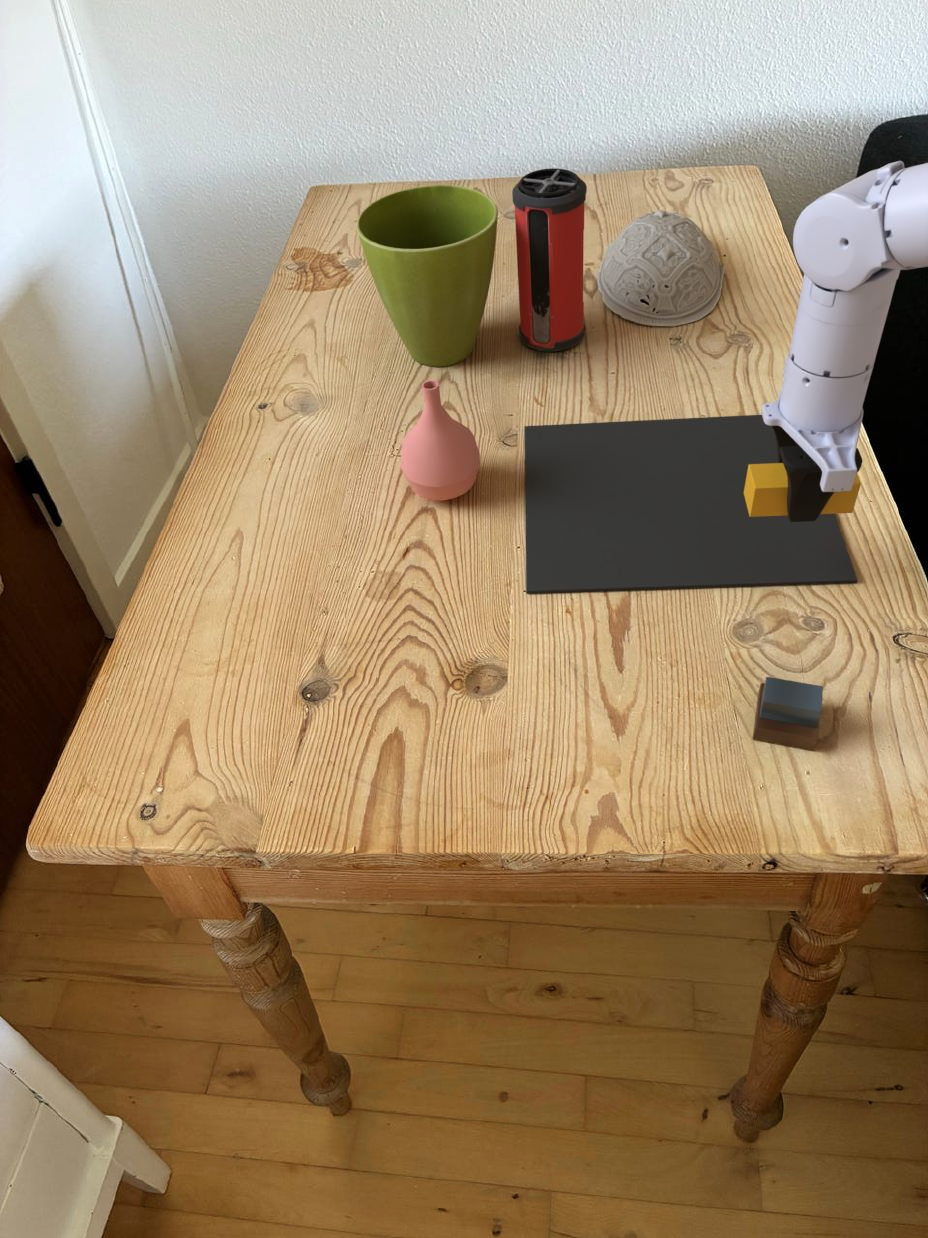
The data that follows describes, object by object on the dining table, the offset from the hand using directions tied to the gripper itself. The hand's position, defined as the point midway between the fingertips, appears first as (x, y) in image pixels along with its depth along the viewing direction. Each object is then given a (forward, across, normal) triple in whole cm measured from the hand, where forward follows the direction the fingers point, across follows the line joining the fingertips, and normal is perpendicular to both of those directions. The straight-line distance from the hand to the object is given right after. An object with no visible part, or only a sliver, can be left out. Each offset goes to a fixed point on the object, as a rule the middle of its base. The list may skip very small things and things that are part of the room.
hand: (797, 503), depth 76 cm
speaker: (+8, -40, -19) cm, 45 cm away
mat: (+8, -10, -8) cm, 15 cm away
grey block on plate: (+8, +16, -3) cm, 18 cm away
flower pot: (+8, -38, -32) cm, 50 cm away
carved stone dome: (+8, -53, -5) cm, 54 cm away
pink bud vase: (+8, -13, -30) cm, 34 cm away
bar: (0, 0, 0) cm, 0 cm away
